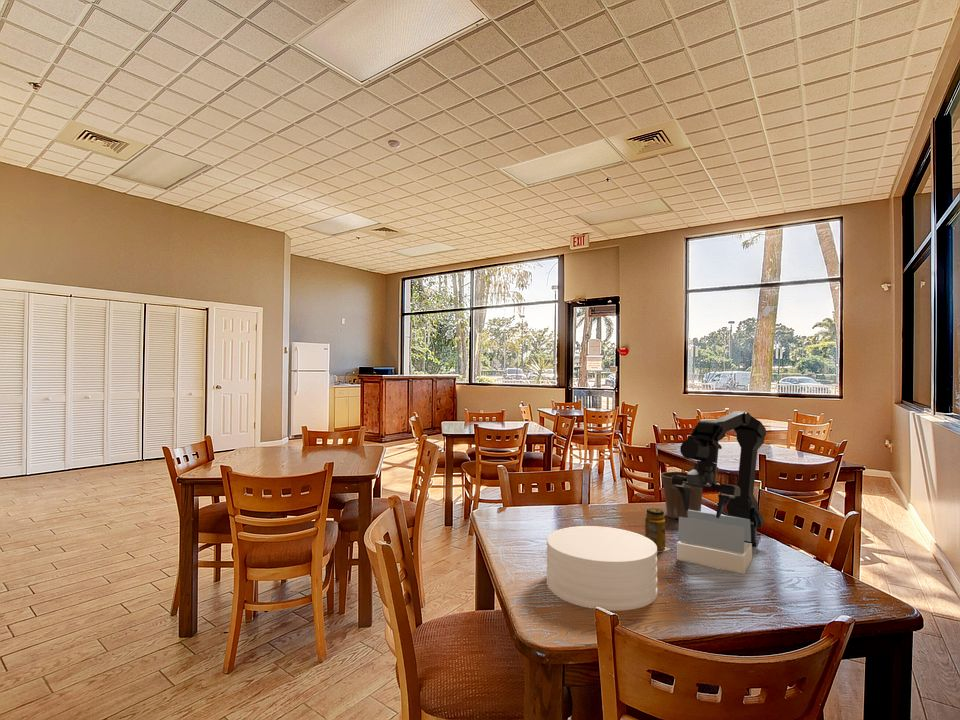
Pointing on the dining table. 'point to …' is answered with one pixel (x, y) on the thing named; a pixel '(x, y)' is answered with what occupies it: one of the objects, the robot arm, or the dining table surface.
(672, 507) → the plant pot
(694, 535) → the flap
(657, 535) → the condiment
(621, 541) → the plate stack
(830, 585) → the dining table surface
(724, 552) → the carton
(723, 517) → the flap
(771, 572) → the dining table surface
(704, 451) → the robot arm
